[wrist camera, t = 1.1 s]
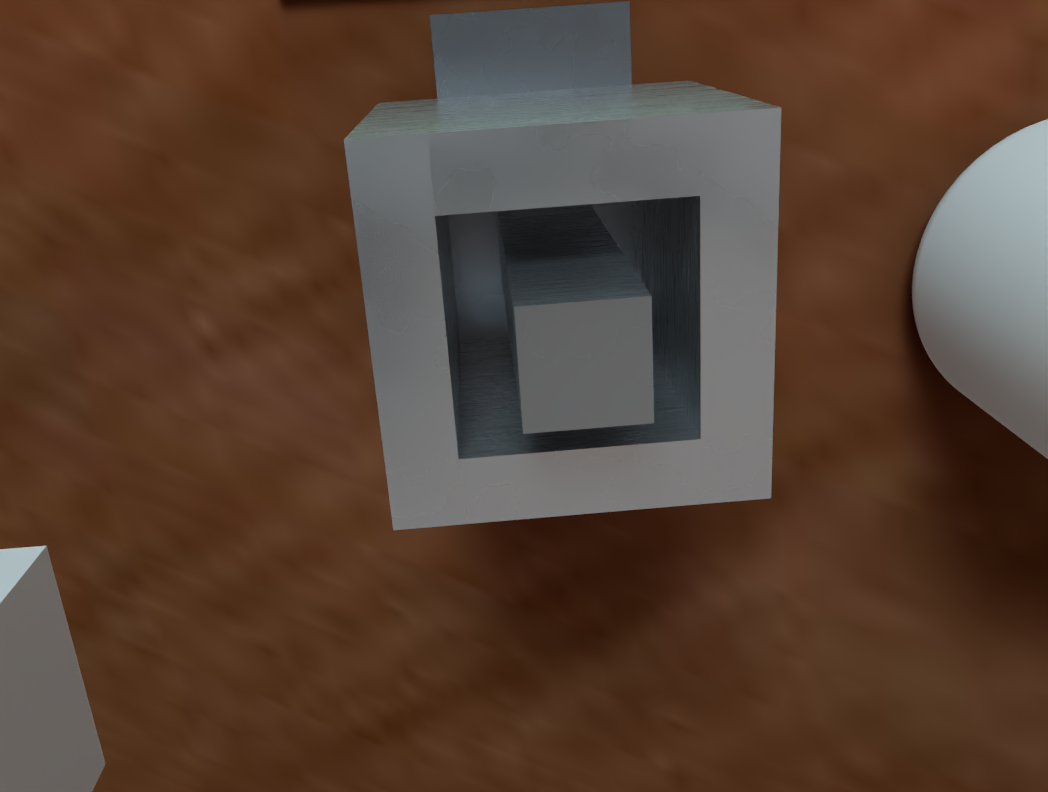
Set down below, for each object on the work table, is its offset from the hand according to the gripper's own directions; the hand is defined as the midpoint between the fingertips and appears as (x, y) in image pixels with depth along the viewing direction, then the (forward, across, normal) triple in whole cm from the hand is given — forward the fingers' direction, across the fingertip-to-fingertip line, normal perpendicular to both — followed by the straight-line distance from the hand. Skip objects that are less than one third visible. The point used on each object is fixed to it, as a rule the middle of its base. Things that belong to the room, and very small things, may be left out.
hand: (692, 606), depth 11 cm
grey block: (+23, 0, 0) cm, 23 cm away
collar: (+18, 0, 0) cm, 18 cm away
